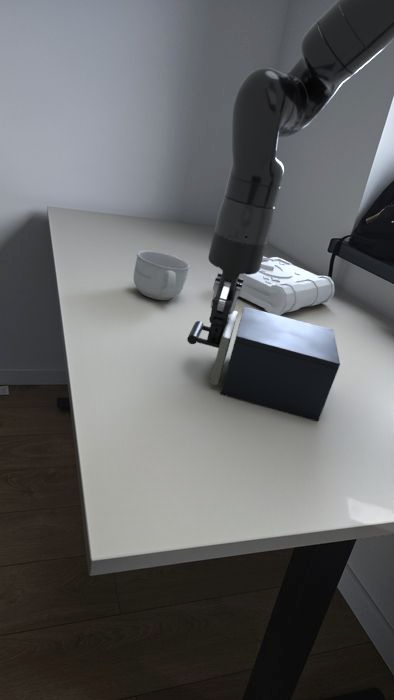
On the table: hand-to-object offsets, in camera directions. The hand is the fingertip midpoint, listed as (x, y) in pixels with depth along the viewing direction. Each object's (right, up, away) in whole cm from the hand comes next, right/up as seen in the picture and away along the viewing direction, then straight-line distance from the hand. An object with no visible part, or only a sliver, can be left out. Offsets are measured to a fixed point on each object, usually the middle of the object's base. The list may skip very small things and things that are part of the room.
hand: (213, 344), depth 76 cm
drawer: (+4, -5, +1) cm, 7 cm away
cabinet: (+9, -7, +1) cm, 11 cm away
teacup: (-11, +10, +26) cm, 29 cm away
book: (+17, +12, +44) cm, 48 cm away
